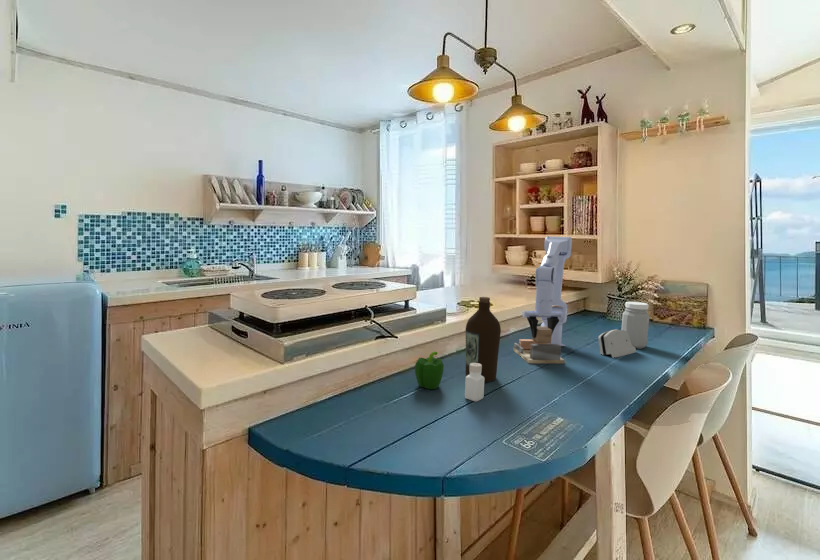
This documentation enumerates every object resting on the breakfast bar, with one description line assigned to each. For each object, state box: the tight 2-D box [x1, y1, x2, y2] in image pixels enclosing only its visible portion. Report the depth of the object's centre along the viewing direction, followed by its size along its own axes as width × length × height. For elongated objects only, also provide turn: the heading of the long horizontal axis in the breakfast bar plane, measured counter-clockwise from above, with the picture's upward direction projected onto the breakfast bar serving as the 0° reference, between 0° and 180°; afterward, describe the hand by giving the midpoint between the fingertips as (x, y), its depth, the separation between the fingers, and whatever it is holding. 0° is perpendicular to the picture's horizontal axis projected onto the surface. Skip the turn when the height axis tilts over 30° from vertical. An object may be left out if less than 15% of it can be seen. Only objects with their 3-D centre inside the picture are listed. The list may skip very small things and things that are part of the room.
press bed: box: [512, 342, 566, 364], centre depth 155 cm, size 16×13×6 cm
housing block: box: [531, 325, 552, 344], centre depth 152 cm, size 5×5×5 cm
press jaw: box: [518, 338, 545, 349], centre depth 160 cm, size 2×10×3 cm, turn 95°
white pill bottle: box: [464, 363, 485, 402], centre depth 113 cm, size 4×4×10 cm
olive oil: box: [465, 296, 502, 383], centre depth 130 cm, size 11×11×25 cm
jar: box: [620, 301, 650, 350], centre depth 174 cm, size 10×10×18 cm
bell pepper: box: [414, 351, 444, 390], centre depth 121 cm, size 8×8×10 cm
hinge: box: [597, 329, 637, 359], centre depth 164 cm, size 17×5×10 cm, turn 124°
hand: (541, 337), depth 152 cm, fingers closed on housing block, 5 cm apart
